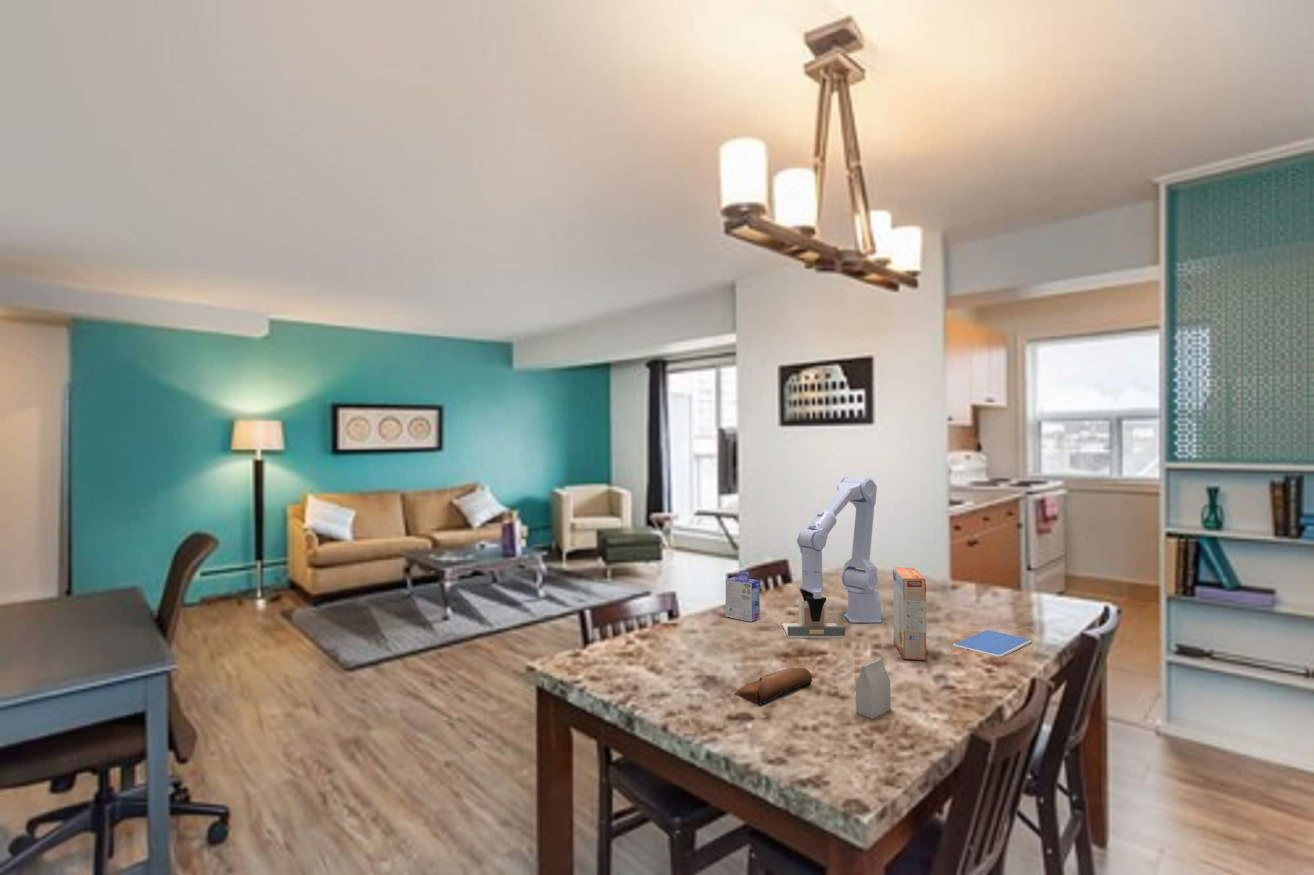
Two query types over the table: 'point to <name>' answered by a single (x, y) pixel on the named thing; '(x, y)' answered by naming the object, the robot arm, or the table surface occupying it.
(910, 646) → the cracker box
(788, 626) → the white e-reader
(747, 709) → the table surface
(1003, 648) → the tablet computer
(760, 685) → the sunglasses case
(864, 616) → the robot arm
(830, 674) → the table surface
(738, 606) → the ink cartridge box
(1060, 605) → the table surface
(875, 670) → the grey milk carton
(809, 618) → the carton
